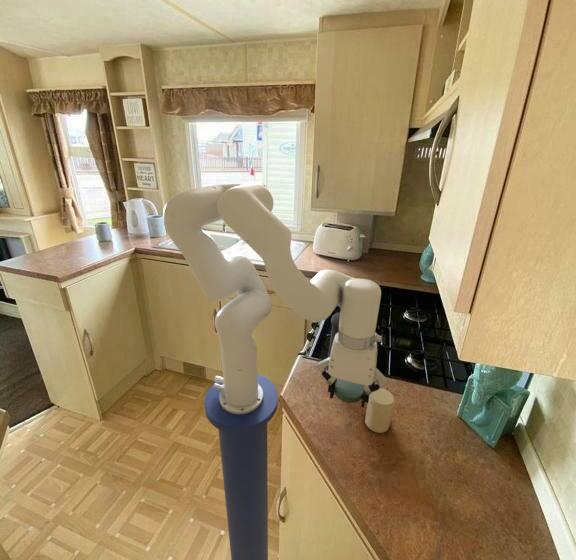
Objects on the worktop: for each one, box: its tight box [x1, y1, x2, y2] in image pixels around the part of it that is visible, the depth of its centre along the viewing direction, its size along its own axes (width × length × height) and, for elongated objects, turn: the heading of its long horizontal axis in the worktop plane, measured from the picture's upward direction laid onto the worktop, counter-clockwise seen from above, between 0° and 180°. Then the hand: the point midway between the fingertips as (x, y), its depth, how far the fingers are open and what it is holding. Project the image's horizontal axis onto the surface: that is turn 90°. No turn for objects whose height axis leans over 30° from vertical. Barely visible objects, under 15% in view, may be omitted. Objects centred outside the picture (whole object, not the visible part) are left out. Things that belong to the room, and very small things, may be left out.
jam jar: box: [364, 388, 395, 434], centre depth 80 cm, size 6×6×9 cm
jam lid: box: [334, 379, 364, 404], centre depth 73 cm, size 7×7×2 cm
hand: (347, 398), depth 74 cm, fingers closed on jam lid, 6 cm apart
